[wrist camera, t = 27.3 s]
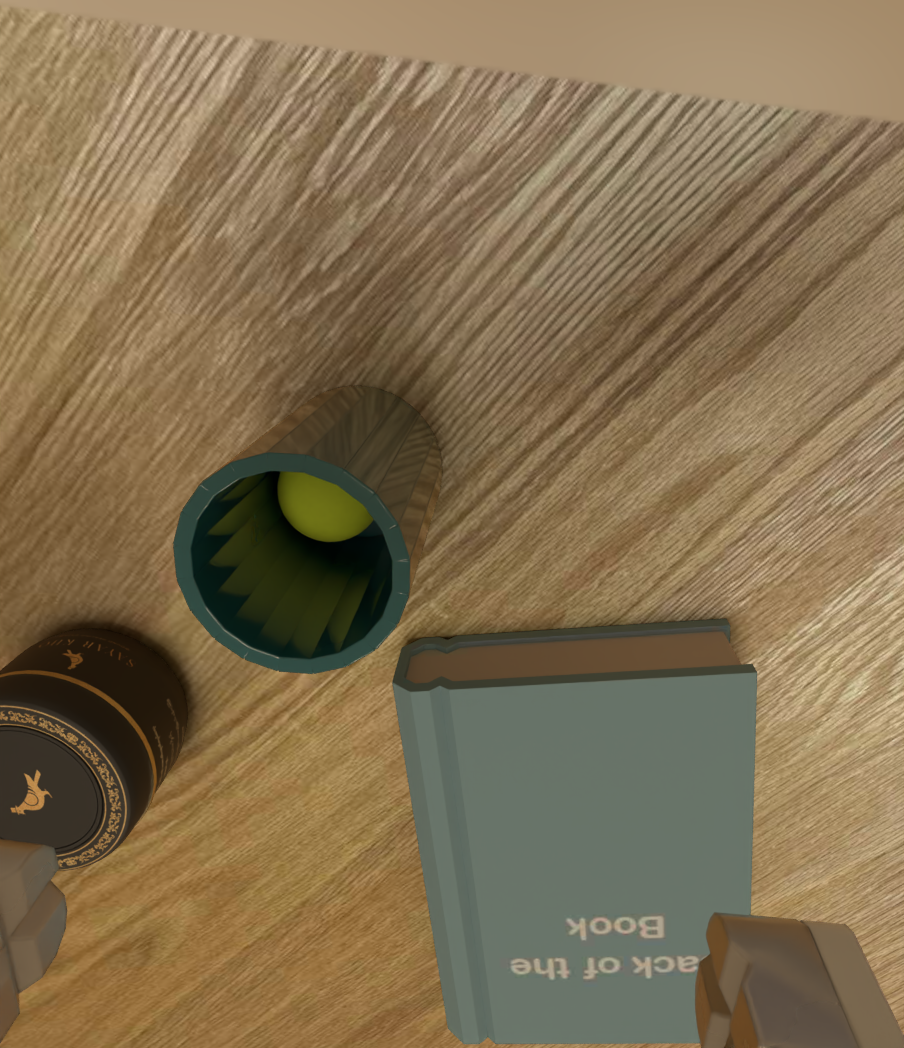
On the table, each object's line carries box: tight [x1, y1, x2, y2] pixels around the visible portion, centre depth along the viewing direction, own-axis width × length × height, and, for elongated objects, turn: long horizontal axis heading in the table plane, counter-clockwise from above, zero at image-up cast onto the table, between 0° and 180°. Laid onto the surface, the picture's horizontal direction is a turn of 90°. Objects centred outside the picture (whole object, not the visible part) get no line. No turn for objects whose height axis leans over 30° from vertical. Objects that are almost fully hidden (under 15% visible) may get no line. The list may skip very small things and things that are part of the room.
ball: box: [277, 471, 374, 542], centre depth 33 cm, size 5×5×5 cm
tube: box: [173, 386, 442, 674], centre depth 30 cm, size 8×8×12 cm
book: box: [392, 619, 757, 1044], centre depth 39 cm, size 23×16×5 cm
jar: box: [0, 629, 188, 871], centre depth 38 cm, size 10×10×8 cm
